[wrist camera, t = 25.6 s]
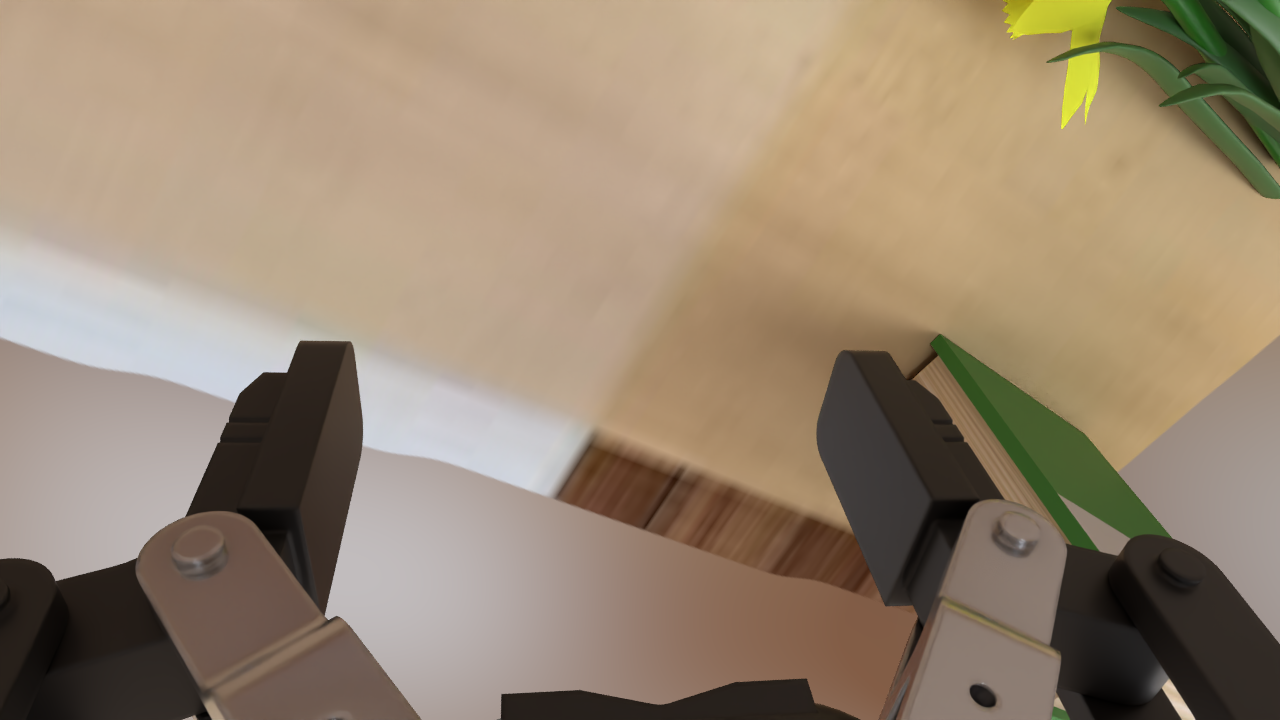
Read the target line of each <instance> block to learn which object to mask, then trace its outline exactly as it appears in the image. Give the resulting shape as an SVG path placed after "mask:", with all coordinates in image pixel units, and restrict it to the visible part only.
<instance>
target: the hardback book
mask: <svg viewBox="0 0 1280 720" xmlns="http://www.w3.org/2000/svg"><path fill="white" fill-rule="evenodd" d="M930 344H931V345H932V347H933V348H934V350H935V351H936V352H937V354H938V356H937V357H936V358H935V359H934V360H933V361H932V362H931V363H929V364H928V365H927V366H926V367H925V368H924V369H923V370H922V371H921V372H920V373H919V374H918V375H916V376H915V377H914V378H913V379H912V380H916V381H917V382H918V383H920V384H921V385H922V386H923V387H925V388H926V389H927V390H928V391H930V392H931V393H932V394H933V395H934V396H936V397H937V398H938V399H939V400H940V402H941V403H942V405H943V406H944V408H945V409H946V411H947V412H948V414H949V415H950V417H951V418H952V420H953V425H956V426H957V427H958V429H959V430H960V432H961V433H962V435H963V436H964V442H967V443H968V444H969V446H970V447H971V449H972V450H973V452H974V453H975V455H976V456H977V458H978V459H979V461H980V462H981V464H982V465H983V467H984V468H985V470H986V471H987V473H988V475H989V476H990V478H991V479H992V481H993V482H994V484H995V485H996V487H997V488H998V490H999V491H1000V493H1001V494H1002V496H1003V497H1004V499H1005V500H1008V501H1012V502H1016V503H1019V504H1021V505H1024V506H1026V507H1028V508H1030V509H1032V510H1034V511H1036V512H1037V513H1039V514H1041V515H1042V516H1043V517H1045V518H1046V519H1047V520H1048V521H1049V522H1051V523H1052V524H1053V525H1054V526H1055V528H1056V529H1057V530H1058V531H1059V532H1060V534H1061V536H1062V537H1063V539H1064V541H1065V543H1067V544H1070V545H1074V546H1078V547H1083V548H1087V549H1091V550H1096V551H1100V552H1104V553H1108V554H1113V555H1117V556H1118V555H1119V554H1120V552H1121V551H1122V549H1123V548H1124V546H1125V545H1126V543H1127V542H1128V541H1129V540H1130V539H1131V538H1133V537H1135V536H1138V535H1142V534H1153V535H1160V536H1165V537H1169V538H1172V537H1171V536H1170V535H1169V534H1168V533H1167V532H1166V530H1165V529H1164V528H1163V527H1162V525H1161V524H1160V523H1159V522H1158V521H1157V519H1156V518H1155V517H1154V516H1153V515H1152V513H1151V512H1150V511H1149V510H1148V509H1147V508H1146V506H1145V505H1144V504H1143V503H1142V502H1141V500H1140V499H1139V498H1138V497H1137V496H1136V494H1135V493H1134V492H1133V491H1132V490H1131V488H1130V487H1129V486H1128V485H1127V484H1126V483H1125V481H1124V480H1123V479H1122V478H1121V477H1120V476H1119V474H1118V473H1117V472H1116V471H1115V469H1114V468H1113V467H1112V466H1111V465H1110V463H1109V462H1108V461H1107V460H1106V459H1105V457H1104V456H1103V455H1102V454H1101V453H1100V452H1099V450H1098V449H1097V448H1096V447H1095V446H1094V444H1093V443H1092V442H1091V441H1090V440H1089V438H1088V437H1087V436H1086V435H1085V434H1084V433H1082V432H1081V431H1079V430H1078V429H1076V428H1075V427H1074V426H1072V425H1071V424H1069V423H1068V422H1066V421H1065V420H1063V419H1062V418H1061V417H1059V416H1058V415H1056V414H1055V413H1053V412H1052V411H1050V410H1049V409H1048V408H1046V407H1045V406H1043V405H1042V404H1040V403H1039V402H1037V401H1036V400H1035V399H1033V398H1032V397H1030V396H1029V395H1027V394H1026V393H1025V392H1023V391H1022V390H1020V389H1019V388H1017V387H1016V386H1014V385H1013V384H1012V383H1010V382H1009V381H1007V380H1006V379H1004V378H1003V377H1001V376H1000V375H999V374H997V373H996V372H994V371H993V370H991V369H990V368H989V367H987V366H986V365H984V364H983V363H981V362H980V361H978V360H977V359H976V358H974V357H973V356H971V355H970V354H968V353H967V352H965V351H964V350H963V349H961V348H960V347H958V346H957V345H955V344H954V343H952V342H951V341H950V340H948V339H947V338H945V337H944V336H942V335H941V334H940V335H939V336H938V337H937V338H936V339H935V340H933V341H932V342H931V343H930ZM1162 689H1163V691H1164V692H1165V694H1166V695H1167V697H1168V698H1169V700H1170V702H1171V703H1172V705H1173V706H1174V708H1175V710H1176V711H1177V713H1178V714H1179V716H1180V717H1181V719H1182V720H1195V718H1194V716H1193V714H1192V713H1191V711H1190V710H1189V708H1188V707H1187V705H1186V704H1185V702H1184V700H1183V699H1182V697H1181V696H1180V694H1179V693H1178V691H1177V690H1176V688H1175V687H1174V685H1173V683H1172V682H1171V680H1170V679H1169V680H1168V681H1167V682H1166V683H1165V684H1164V686H1163V687H1162ZM1051 720H1070V718H1069V716H1068V714H1067V712H1066V710H1065V708H1064V707H1063V705H1062V703H1061V701H1060V699H1059V697H1058V695H1057V693H1056V695H1055V701H1054V707H1053V713H1052V718H1051Z"/></svg>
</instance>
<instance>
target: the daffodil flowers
mask: <svg viewBox="0 0 1280 720" xmlns="http://www.w3.org/2000/svg"><path fill="white" fill-rule="evenodd" d="M1003 1H1005V2H1006V3H1008V4H1007V5H1006V6H1005V8H1004V9H1003V10H1002V11H1003V12H1005V13H1007V14H1009V16H1008V17H1007V19H1006V20H1005V22H1004V23H1008V24H1011V26H1010V28H1009V29H1008V31H1007V32H1014V33H1013V34H1012V36H1011V37H1010V38H1013V37H1015V38H1014V39H1016V38H1018V37H1019V36H1021V35H1023V34H1025V35H1033V34H1042V33H1062V32H1065V31H1068V30H1071V31H1072V37H1071V45H1070V50H1069V51H1067V52H1065V53H1063V54H1061V55H1059V56H1057V57H1055V58H1053V59H1051V60H1049V61H1047V63H1051V62H1057V61H1063V60H1066V59H1069V61H1068V68H1067V75H1066V82H1065V89H1064V98H1063V106H1062V121H1061V129H1063V128H1064V127H1065V125H1066V124H1067V123H1068V121H1069V120H1070V118H1071V117H1072V116H1073V114H1074V113H1075V112H1076V110H1077V109H1078V108H1079V106H1080V105H1081V104H1082V102H1083V99H1084V97H1085V94H1086V91H1087V95H1086V106H1085V123H1086V117H1087V114H1088V110H1089V106H1090V104H1091V102H1092V100H1093V98H1094V95H1095V93H1096V91H1097V85H1098V77H1099V69H1100V52H1106V53H1111V54H1116V55H1119V56H1122V57H1124V58H1127V59H1129V60H1130V61H1132V62H1134V63H1136V64H1137V65H1138V66H1140V67H1141V68H1142V69H1143V70H1144V71H1146V72H1147V73H1148V74H1149V75H1150V76H1151V77H1152V78H1153V79H1154V80H1155V82H1156V83H1157V84H1158V85H1159V86H1160V87H1161V88H1162V89H1163V91H1164V92H1165V93H1166V94H1167V95H1168V96H1169V97H1170V98H1168V99H1167V100H1165V101H1164V102H1163V103H1161V104H1160V105H1159V106H1160V107H1164V106H1170V105H1176V104H1177V105H1178V106H1179V107H1180V109H1181V110H1182V111H1183V112H1184V113H1185V114H1186V115H1187V116H1188V117H1189V118H1190V119H1191V120H1192V121H1193V122H1194V123H1195V124H1196V125H1197V126H1198V127H1199V128H1200V129H1201V130H1202V132H1203V133H1204V134H1205V135H1206V136H1207V137H1208V138H1209V139H1210V140H1211V141H1212V142H1213V143H1214V144H1215V145H1216V146H1217V147H1218V148H1219V149H1220V150H1221V151H1222V152H1223V153H1224V154H1225V155H1226V156H1227V157H1228V158H1229V159H1230V160H1231V161H1232V162H1233V163H1234V164H1235V165H1236V167H1237V168H1238V169H1239V170H1240V171H1241V172H1242V174H1243V175H1244V176H1245V177H1246V178H1247V179H1248V181H1249V182H1250V183H1251V184H1252V185H1253V186H1254V188H1255V189H1256V190H1257V191H1258V192H1259V193H1260V195H1261V196H1263V197H1266V198H1271V199H1280V186H1279V185H1278V183H1277V182H1276V181H1275V180H1274V178H1273V177H1272V176H1271V175H1270V173H1269V172H1268V171H1267V170H1266V168H1265V167H1264V166H1263V165H1262V163H1261V162H1260V161H1259V160H1258V159H1257V158H1256V157H1255V156H1254V155H1253V153H1252V152H1251V151H1250V150H1249V149H1248V148H1247V147H1246V146H1245V145H1244V144H1243V143H1242V141H1241V140H1240V139H1239V138H1238V137H1237V136H1236V135H1235V134H1234V133H1233V132H1232V131H1231V129H1230V128H1229V127H1228V126H1227V125H1226V124H1225V123H1224V122H1223V120H1222V119H1221V118H1220V117H1219V116H1218V115H1217V114H1216V113H1215V112H1214V110H1213V109H1212V108H1211V107H1210V106H1209V105H1208V104H1207V103H1206V101H1205V100H1204V99H1203V98H1205V97H1210V96H1215V95H1222V96H1223V97H1224V98H1225V99H1226V100H1227V101H1228V102H1229V103H1230V104H1231V105H1232V106H1234V107H1235V108H1236V109H1237V110H1238V111H1239V112H1240V113H1241V114H1242V115H1243V116H1244V118H1245V119H1246V121H1247V122H1248V123H1249V125H1250V126H1251V128H1252V129H1253V131H1254V132H1255V133H1256V135H1257V136H1258V138H1259V139H1260V141H1261V142H1262V144H1263V145H1264V146H1265V148H1266V149H1267V151H1268V152H1269V154H1270V155H1271V156H1272V158H1273V159H1274V161H1275V162H1276V164H1277V165H1278V166H1279V168H1280V0H1161V1H1162V2H1163V3H1164V4H1165V5H1166V6H1167V7H1168V9H1169V10H1170V12H1167V11H1161V10H1156V9H1151V8H1140V7H1123V6H1119V7H1116V9H1117V10H1119V11H1120V12H1122V13H1124V14H1126V15H1128V16H1130V17H1132V18H1134V19H1137V20H1139V21H1141V22H1144V23H1146V24H1148V25H1151V26H1153V27H1155V28H1158V29H1160V30H1162V31H1165V32H1167V33H1169V34H1171V35H1173V36H1175V37H1177V38H1179V39H1180V40H1182V41H1184V42H1186V43H1188V44H1189V45H1191V46H1193V47H1194V48H1196V49H1197V50H1198V52H1199V53H1200V55H1201V56H1202V57H1203V59H1204V60H1205V62H1206V63H1199V64H1195V65H1192V66H1189V67H1187V68H1186V69H1184V70H1183V71H1181V72H1180V71H1179V70H1178V69H1177V68H1176V67H1175V66H1174V65H1172V64H1171V63H1170V62H1169V61H1168V60H1166V59H1165V58H1164V57H1162V56H1160V55H1159V54H1157V53H1155V52H1154V51H1151V50H1149V49H1146V48H1143V47H1141V46H1136V45H1129V44H1123V43H1116V42H1101V43H1099V39H1100V34H1101V30H1102V27H1103V24H1104V21H1105V17H1106V12H1107V8H1108V5H1109V4H1110V2H1111V1H1112V0H1003ZM1215 1H1216V2H1217V3H1218V4H1220V5H1221V6H1222V7H1223V8H1224V9H1225V10H1227V11H1228V12H1229V13H1230V14H1231V15H1232V16H1233V17H1234V18H1235V19H1236V21H1237V22H1238V23H1239V24H1240V25H1241V27H1242V28H1243V29H1244V31H1245V32H1246V33H1247V34H1246V33H1245V32H1244V31H1243V30H1242V29H1241V28H1240V27H1239V25H1238V24H1237V23H1236V22H1235V21H1234V20H1233V19H1232V18H1231V17H1230V16H1229V15H1228V14H1227V13H1226V12H1225V11H1224V10H1223V9H1222V8H1221V7H1220V6H1219V5H1218V4H1217V3H1216V2H1215ZM1247 35H1248V36H1249V37H1248V36H1247ZM1014 39H1013V40H1014ZM1193 73H1194V74H1196V75H1198V76H1199V77H1200V78H1202V79H1203V80H1204V81H1205V82H1207V83H1208V84H1197V85H1195V86H1192V85H1191V84H1190V83H1189V82H1188V81H1187V79H1186V78H1185V77H1187V76H1189V75H1191V74H1193Z"/></svg>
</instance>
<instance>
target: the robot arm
mask: <svg viewBox="0 0 1280 720" xmlns="http://www.w3.org/2000/svg"><path fill="white" fill-rule="evenodd" d="M220 440H221V441H220V443H218V444H217V446H216V448H215V451H214V453H213V455H212V458H211V460H210V462H209V465H208V467H207V469H206V471H205V473H204V476H203V478H202V480H201V483H200V485H199V487H198V489H197V492H196V494H195V496H194V498H193V501H192V503H191V506H190V508H189V510H188V512H187V514H186V516H185V518H182V519H179V520H177V521H175V522H173V523H171V524H169V525H168V526H166V527H165V528H163V529H161V530H160V531H158V532H157V533H156V534H155V535H154V536H153V537H151V538H150V540H149V541H148V542H147V543H146V544H145V545H144V547H143V548H142V550H141V551H140V553H139V556H138V558H136V559H134V560H131V561H129V562H126V563H123V564H120V565H117V566H113V567H110V568H106V569H102V570H98V571H94V572H90V573H86V574H82V575H78V576H75V577H71V578H67V579H63V580H59V581H55V579H54V577H53V575H52V573H51V572H50V571H49V570H48V569H47V568H46V567H45V566H44V565H42V564H40V563H38V562H35V561H32V560H27V559H20V558H19V559H18V558H17V559H16V558H14V559H12V558H11V559H10V558H8V559H0V720H182V719H185V718H188V717H191V716H192V717H193V719H194V720H421V718H420V717H419V716H418V715H417V713H416V712H415V711H414V709H413V708H412V707H411V705H410V704H409V703H408V701H407V700H406V699H405V697H404V696H403V695H402V693H401V692H400V691H399V690H398V688H397V687H396V686H395V684H394V683H393V682H392V680H391V679H390V678H389V677H388V675H387V674H386V673H385V671H384V670H383V669H382V667H381V666H380V665H379V663H378V662H377V661H376V659H375V658H374V657H373V656H372V654H371V653H370V652H369V650H368V649H367V648H366V646H365V645H364V644H363V642H362V641H361V640H360V639H359V637H358V636H357V635H356V633H355V632H354V631H353V629H352V628H351V627H350V626H349V625H348V624H347V623H346V622H345V621H344V620H343V619H342V618H340V617H338V616H336V617H334V618H332V619H330V620H328V619H327V618H326V617H325V611H326V607H327V603H328V598H329V594H330V589H331V585H332V580H333V576H334V572H335V567H336V563H337V558H338V554H339V550H340V545H341V541H342V536H343V532H344V527H345V522H346V519H347V514H348V510H349V505H350V501H351V497H352V492H353V488H354V484H355V479H356V475H357V470H358V466H359V461H360V457H361V451H362V441H363V419H362V410H361V402H360V394H359V386H358V378H357V370H356V362H355V354H354V348H353V345H352V343H351V342H350V341H300V342H299V344H298V346H297V348H296V351H295V354H294V356H293V359H292V361H291V364H290V367H289V369H288V372H287V373H269V372H263V373H262V374H261V375H260V376H259V377H258V378H257V379H256V380H254V381H253V382H252V383H251V384H250V385H249V386H248V387H247V388H245V389H244V390H243V391H242V392H241V393H240V394H239V396H238V399H237V401H236V403H235V405H234V408H233V410H232V412H231V414H230V417H229V423H226V426H225V428H224V430H223V433H222V435H221V437H220ZM817 445H818V450H819V454H820V456H821V459H822V461H823V463H824V466H825V468H826V470H827V472H828V475H829V477H830V479H831V482H832V484H833V486H834V489H835V491H836V493H837V496H838V498H839V500H840V502H841V505H842V507H843V509H844V512H845V514H846V516H847V519H848V521H849V523H850V526H851V528H852V530H853V532H854V535H855V537H856V539H857V542H858V544H859V546H860V549H861V551H862V553H863V556H864V558H865V560H866V562H867V565H868V567H869V569H870V572H871V574H872V576H873V579H874V581H875V583H876V586H877V588H878V590H879V592H880V595H881V597H882V599H883V602H884V604H885V606H909V605H913V606H914V609H915V611H916V613H917V615H918V618H917V620H916V622H915V624H914V626H913V628H912V630H911V633H910V636H909V639H908V641H907V644H906V647H905V649H904V652H903V655H902V657H901V660H900V663H899V666H898V668H897V671H896V674H895V677H894V679H893V682H892V685H891V687H890V690H889V693H888V695H887V698H886V701H885V704H884V706H883V709H882V712H881V714H880V717H879V719H878V720H1051V718H1052V713H1053V707H1054V701H1055V695H1056V693H1057V695H1058V697H1059V699H1060V701H1061V703H1062V705H1063V707H1064V708H1065V710H1066V712H1067V714H1068V716H1069V718H1070V720H1182V719H1181V717H1180V716H1179V714H1178V713H1177V711H1176V710H1175V708H1174V706H1173V705H1172V703H1171V702H1170V700H1169V698H1168V697H1167V695H1166V694H1165V692H1164V691H1163V689H1162V687H1163V686H1164V684H1165V683H1166V682H1167V681H1168V680H1169V679H1170V680H1171V682H1172V683H1173V685H1174V687H1175V688H1176V690H1177V691H1178V693H1179V694H1180V696H1181V697H1182V699H1183V700H1184V702H1185V704H1186V705H1187V707H1188V708H1189V710H1190V711H1191V713H1192V714H1193V716H1194V718H1195V720H1280V644H1279V643H1278V641H1277V640H1276V639H1275V638H1274V636H1273V635H1272V634H1271V633H1270V631H1269V630H1268V629H1267V628H1266V626H1265V625H1264V624H1263V623H1262V621H1261V620H1260V619H1259V618H1258V617H1257V615H1256V614H1255V613H1254V611H1253V610H1252V609H1251V608H1250V606H1249V605H1248V604H1247V603H1246V601H1245V600H1244V599H1243V598H1242V596H1241V595H1240V594H1239V593H1238V591H1237V590H1236V589H1235V587H1234V586H1233V585H1232V584H1231V583H1230V581H1229V580H1228V579H1227V577H1226V576H1225V575H1224V574H1223V572H1222V571H1221V570H1220V569H1219V568H1218V567H1217V566H1216V565H1215V564H1214V563H1213V562H1212V561H1211V560H1209V559H1208V558H1207V557H1206V556H1204V555H1203V554H1202V553H1200V552H1198V551H1197V550H1195V549H1194V548H1192V547H1190V546H1188V545H1186V544H1184V543H1182V542H1180V541H1177V540H1175V539H1172V538H1169V537H1165V536H1160V535H1153V534H1142V535H1138V536H1135V537H1133V538H1131V539H1130V540H1129V541H1128V542H1127V543H1126V545H1125V546H1124V548H1123V549H1122V551H1121V552H1120V554H1119V555H1118V556H1117V555H1113V554H1108V553H1104V552H1100V551H1096V550H1091V549H1087V548H1083V547H1078V546H1074V545H1070V544H1067V543H1065V541H1064V539H1063V537H1062V536H1061V534H1060V532H1059V531H1058V530H1057V529H1056V528H1055V526H1054V525H1053V524H1052V523H1051V522H1049V521H1048V520H1047V519H1046V518H1045V517H1043V516H1042V515H1041V514H1039V513H1037V512H1036V511H1034V510H1032V509H1030V508H1028V507H1026V506H1024V505H1021V504H1019V503H1016V502H1012V501H1008V500H1005V499H1004V497H1003V496H1002V494H1001V493H1000V491H999V490H998V488H997V487H996V485H995V484H994V482H993V481H992V479H991V478H990V476H989V475H988V473H987V471H986V470H985V468H984V467H983V465H982V464H981V462H980V461H979V459H978V458H977V456H976V455H975V453H974V452H973V450H972V449H971V447H970V446H969V444H968V443H967V442H964V436H963V435H962V433H961V432H960V430H959V429H958V427H957V426H956V425H953V420H952V418H951V417H950V415H949V414H948V412H947V411H946V409H945V408H944V406H943V405H942V403H941V402H940V400H939V399H938V398H937V397H936V396H934V395H933V394H932V393H931V392H930V391H928V390H927V389H926V388H925V387H923V386H922V385H921V384H920V383H918V382H917V381H916V380H906V379H905V377H904V376H903V374H902V373H901V371H900V369H899V368H898V366H897V365H896V363H895V361H894V360H893V358H892V357H891V355H890V354H889V353H888V352H886V351H853V350H844V351H841V352H840V353H839V355H838V356H837V358H836V361H835V364H834V367H833V371H832V374H831V377H830V381H829V384H828V387H827V391H826V394H825V397H824V401H823V404H822V407H821V411H820V414H819V418H818V422H817ZM498 720H860V719H858V718H856V717H854V716H851V715H849V714H847V713H845V712H842V711H840V710H837V709H834V708H831V707H828V706H825V705H821V704H816V703H814V700H813V697H812V694H811V690H810V687H809V684H808V681H807V679H789V680H770V681H751V682H735V683H731V684H729V685H725V686H722V687H719V688H716V689H713V690H710V691H706V692H703V693H700V694H697V695H694V696H691V697H688V698H684V699H681V700H678V701H675V702H672V703H669V704H664V705H656V704H650V703H644V702H639V701H634V700H629V699H623V698H618V697H612V696H607V695H602V694H597V693H591V692H587V691H582V690H575V691H555V692H535V693H517V694H502V697H501V719H498Z"/></svg>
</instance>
